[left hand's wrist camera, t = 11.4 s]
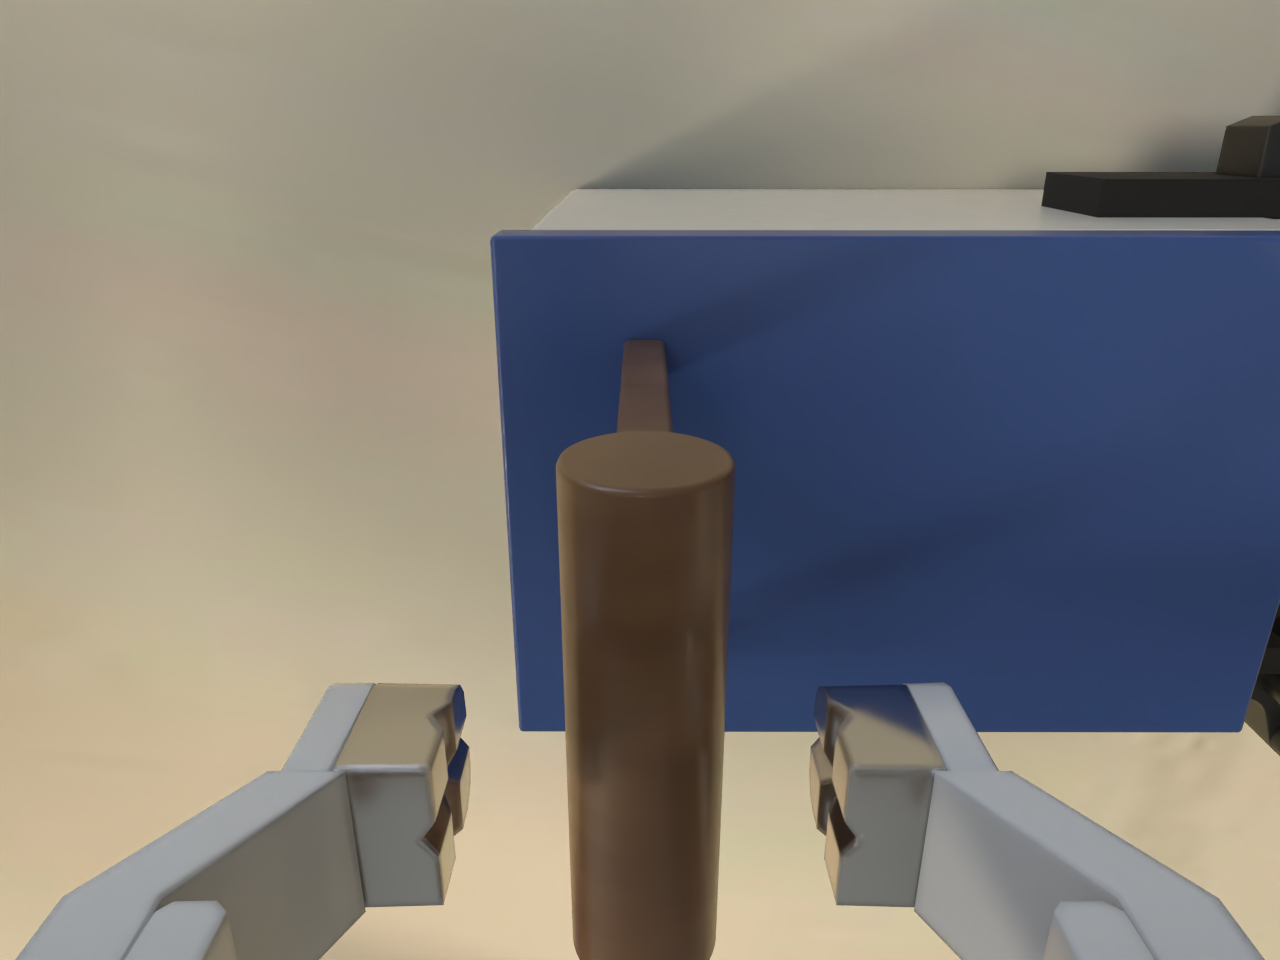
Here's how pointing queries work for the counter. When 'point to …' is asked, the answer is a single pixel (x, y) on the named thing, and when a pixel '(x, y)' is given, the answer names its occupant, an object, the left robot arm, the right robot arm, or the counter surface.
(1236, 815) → the counter surface
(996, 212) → the chest
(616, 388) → the lid
